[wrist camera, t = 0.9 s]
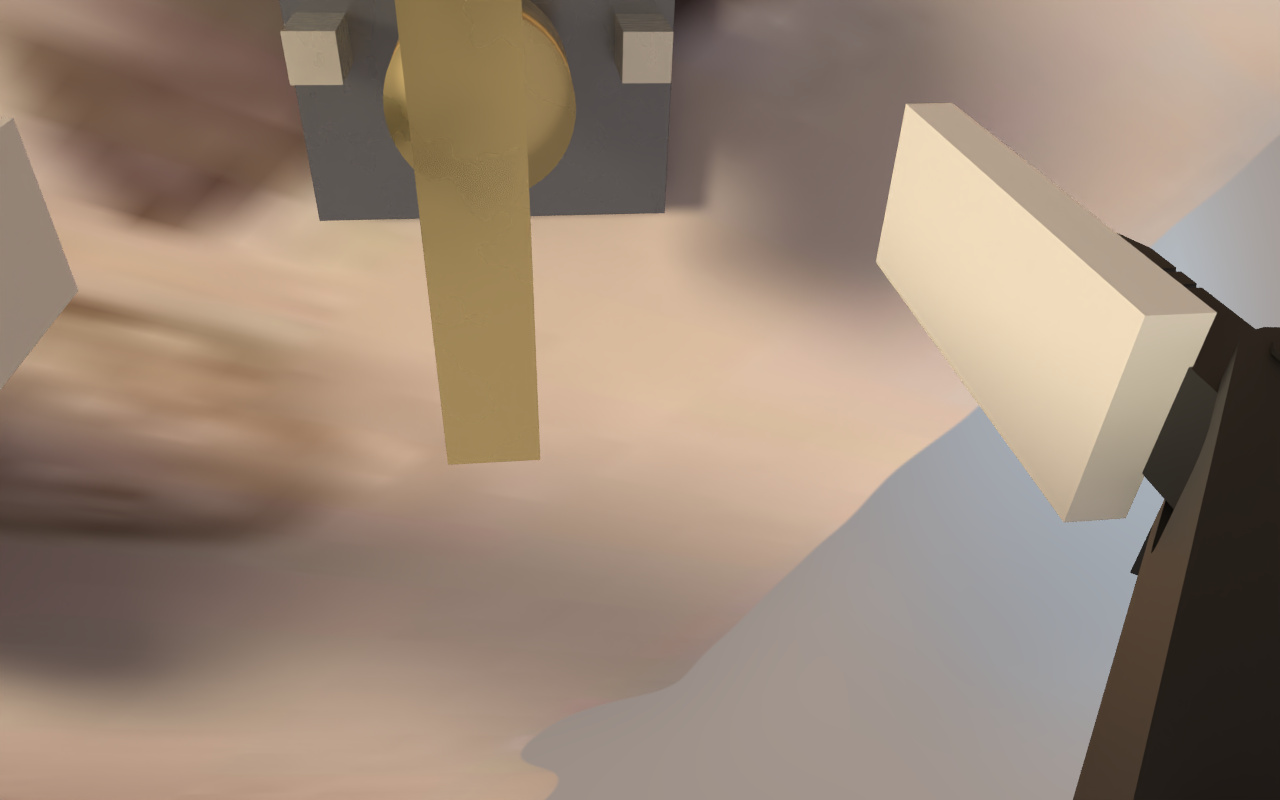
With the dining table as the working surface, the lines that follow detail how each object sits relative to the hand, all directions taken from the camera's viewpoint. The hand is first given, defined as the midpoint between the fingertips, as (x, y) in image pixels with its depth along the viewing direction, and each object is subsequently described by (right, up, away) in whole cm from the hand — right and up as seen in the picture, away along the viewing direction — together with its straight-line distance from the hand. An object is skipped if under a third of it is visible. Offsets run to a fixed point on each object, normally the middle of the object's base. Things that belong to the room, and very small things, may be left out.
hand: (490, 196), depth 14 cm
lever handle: (-3, +9, +20) cm, 22 cm away
